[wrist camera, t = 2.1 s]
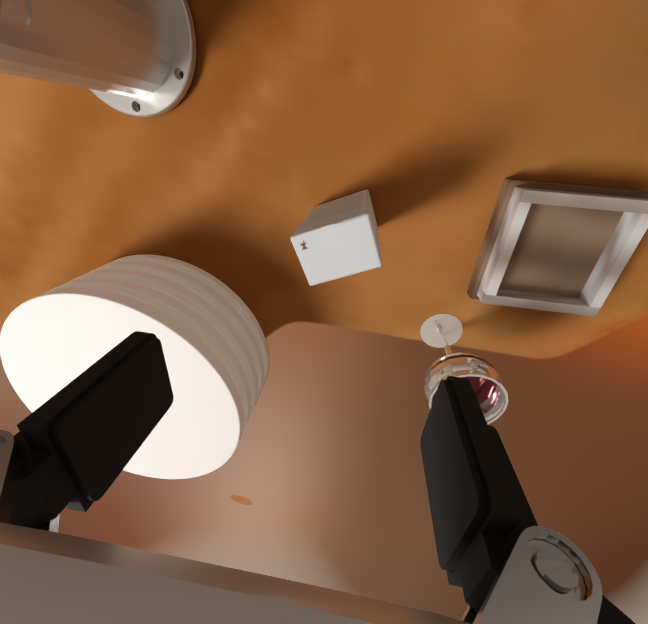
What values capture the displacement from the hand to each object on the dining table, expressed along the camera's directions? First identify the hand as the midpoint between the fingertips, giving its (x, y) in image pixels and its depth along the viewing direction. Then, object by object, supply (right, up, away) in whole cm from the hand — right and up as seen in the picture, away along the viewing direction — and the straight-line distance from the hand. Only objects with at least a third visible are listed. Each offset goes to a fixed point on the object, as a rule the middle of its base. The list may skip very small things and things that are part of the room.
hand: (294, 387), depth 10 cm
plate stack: (-21, -2, +35) cm, 41 cm away
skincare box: (+3, +13, +23) cm, 26 cm away
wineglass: (+15, 0, +28) cm, 32 cm away
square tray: (+24, +9, +21) cm, 33 cm away
